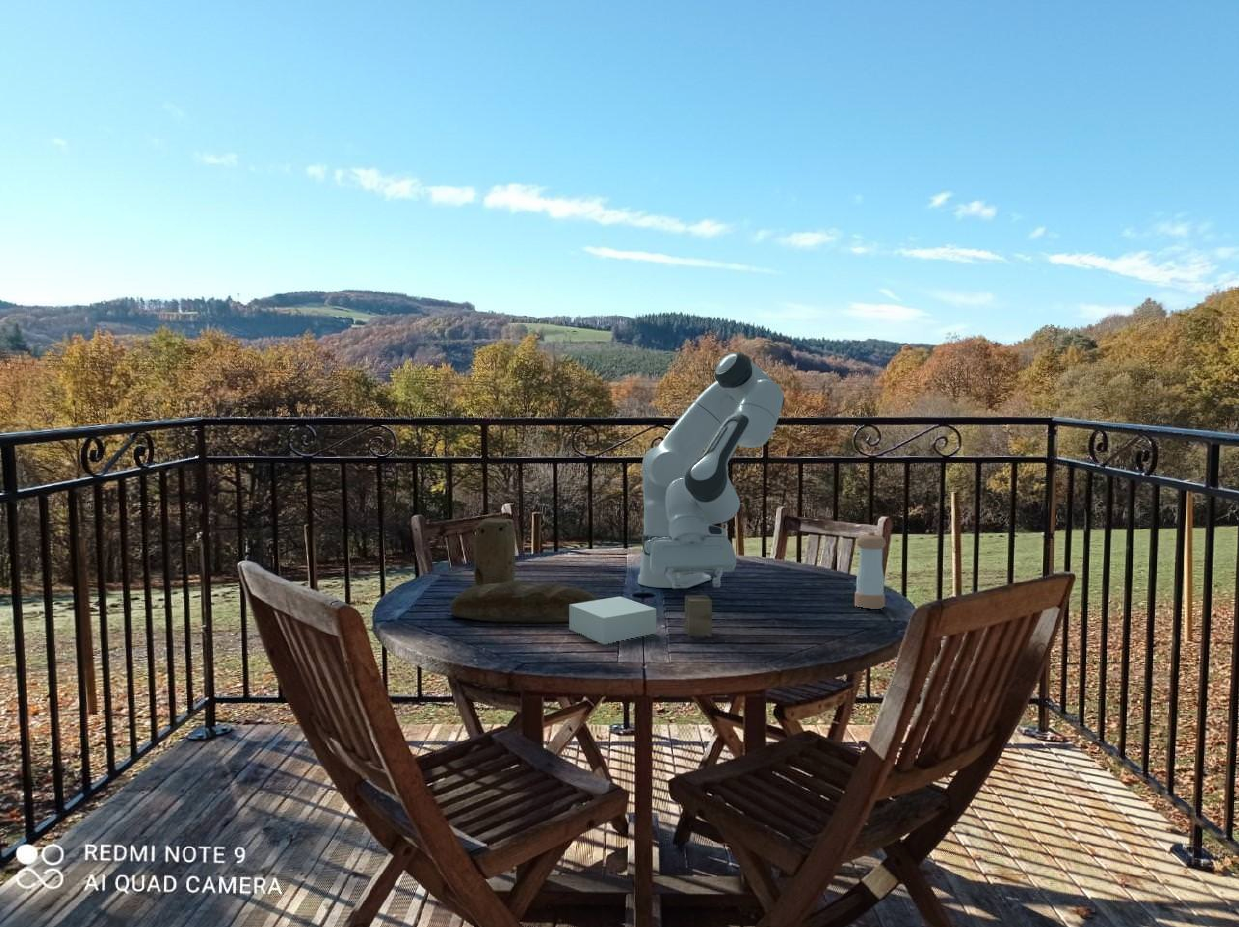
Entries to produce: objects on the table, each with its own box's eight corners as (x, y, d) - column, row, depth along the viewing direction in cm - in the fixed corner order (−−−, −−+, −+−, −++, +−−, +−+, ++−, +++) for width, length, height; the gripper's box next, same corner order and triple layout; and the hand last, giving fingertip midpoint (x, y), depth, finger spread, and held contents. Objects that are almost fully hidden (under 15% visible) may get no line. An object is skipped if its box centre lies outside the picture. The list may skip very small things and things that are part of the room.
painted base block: (620, 621, 186) (620, 596, 185) (656, 635, 174) (656, 608, 174) (569, 630, 178) (569, 604, 177) (603, 646, 166) (603, 618, 166)
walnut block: (684, 630, 177) (685, 595, 177) (706, 630, 178) (707, 595, 177) (688, 637, 172) (689, 601, 172) (711, 636, 173) (711, 600, 172)
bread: (459, 607, 198) (459, 574, 198) (603, 609, 196) (603, 576, 196) (442, 624, 183) (442, 588, 182) (598, 627, 181) (599, 591, 180)
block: (517, 590, 216) (516, 517, 215) (510, 596, 209) (509, 521, 207) (478, 588, 217) (478, 517, 216) (470, 595, 210) (469, 520, 208)
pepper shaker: (886, 611, 195) (888, 534, 194) (855, 609, 196) (857, 533, 195) (882, 603, 202) (884, 529, 201) (853, 602, 203) (855, 528, 202)
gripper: (647, 530, 185) (653, 580, 176) (731, 528, 188) (742, 577, 179) (644, 545, 190) (650, 595, 181) (727, 543, 192) (737, 592, 183)
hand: (696, 586), depth 180 cm, fingers open, 8 cm apart
